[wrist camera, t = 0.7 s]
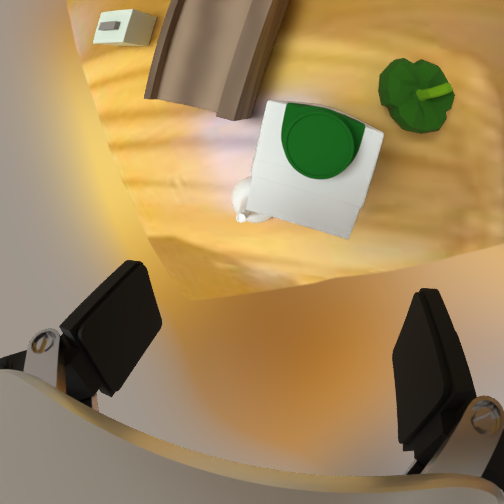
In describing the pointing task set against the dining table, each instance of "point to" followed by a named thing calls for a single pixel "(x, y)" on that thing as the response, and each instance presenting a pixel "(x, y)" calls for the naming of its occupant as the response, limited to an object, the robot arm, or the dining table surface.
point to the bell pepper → (416, 95)
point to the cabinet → (124, 28)
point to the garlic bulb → (245, 203)
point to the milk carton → (313, 166)
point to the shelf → (215, 54)
